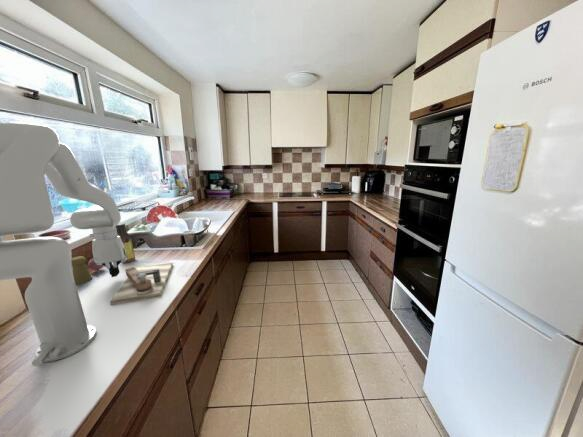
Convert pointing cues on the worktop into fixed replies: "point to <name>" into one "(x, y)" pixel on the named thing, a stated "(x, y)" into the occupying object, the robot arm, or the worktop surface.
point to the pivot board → (153, 272)
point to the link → (138, 279)
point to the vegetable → (94, 265)
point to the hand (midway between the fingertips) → (115, 275)
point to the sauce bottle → (126, 242)
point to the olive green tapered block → (80, 270)
